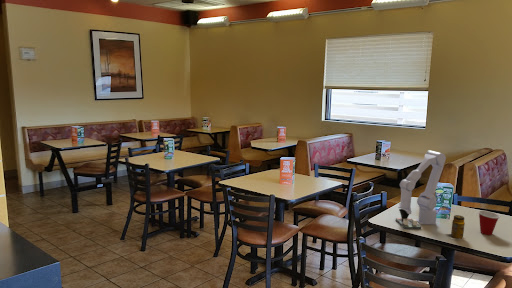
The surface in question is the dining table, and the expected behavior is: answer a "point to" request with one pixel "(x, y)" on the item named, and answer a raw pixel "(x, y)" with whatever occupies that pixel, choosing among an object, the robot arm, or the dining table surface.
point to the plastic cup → (487, 221)
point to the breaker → (414, 221)
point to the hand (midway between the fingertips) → (403, 221)
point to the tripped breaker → (405, 221)
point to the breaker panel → (410, 225)
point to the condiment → (457, 228)
